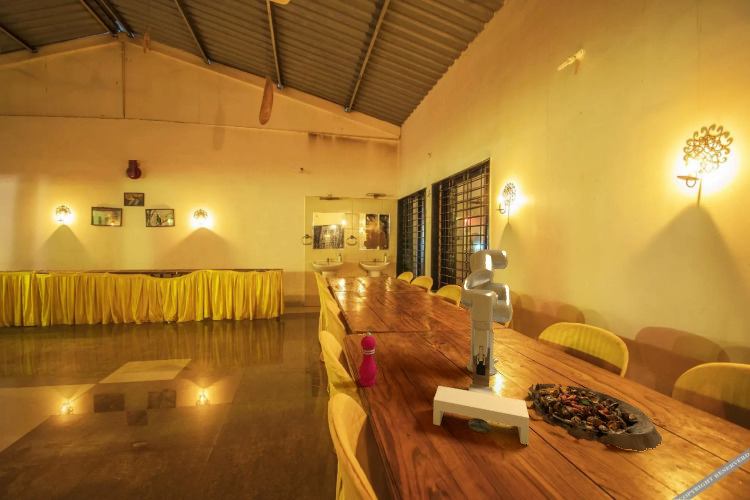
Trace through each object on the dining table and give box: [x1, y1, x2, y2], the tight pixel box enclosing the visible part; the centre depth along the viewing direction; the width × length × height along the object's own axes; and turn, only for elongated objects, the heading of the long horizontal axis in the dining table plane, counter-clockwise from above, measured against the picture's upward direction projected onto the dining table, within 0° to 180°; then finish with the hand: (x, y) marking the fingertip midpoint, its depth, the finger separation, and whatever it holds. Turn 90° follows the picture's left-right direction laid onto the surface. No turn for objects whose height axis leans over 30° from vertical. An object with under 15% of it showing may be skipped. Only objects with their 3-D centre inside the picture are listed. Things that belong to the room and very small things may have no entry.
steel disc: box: [467, 417, 490, 434], centre depth 90 cm, size 6×6×1 cm
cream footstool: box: [432, 385, 530, 446], centre depth 91 cm, size 10×26×8 cm, turn 70°
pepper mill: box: [358, 331, 378, 388], centre depth 118 cm, size 7×7×20 cm
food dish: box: [527, 382, 663, 451], centre depth 97 cm, size 35×33×8 cm
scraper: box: [468, 344, 493, 395], centre depth 106 cm, size 20×8×15 cm, turn 160°
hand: (480, 372), depth 114 cm, fingers closed on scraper, 3 cm apart
